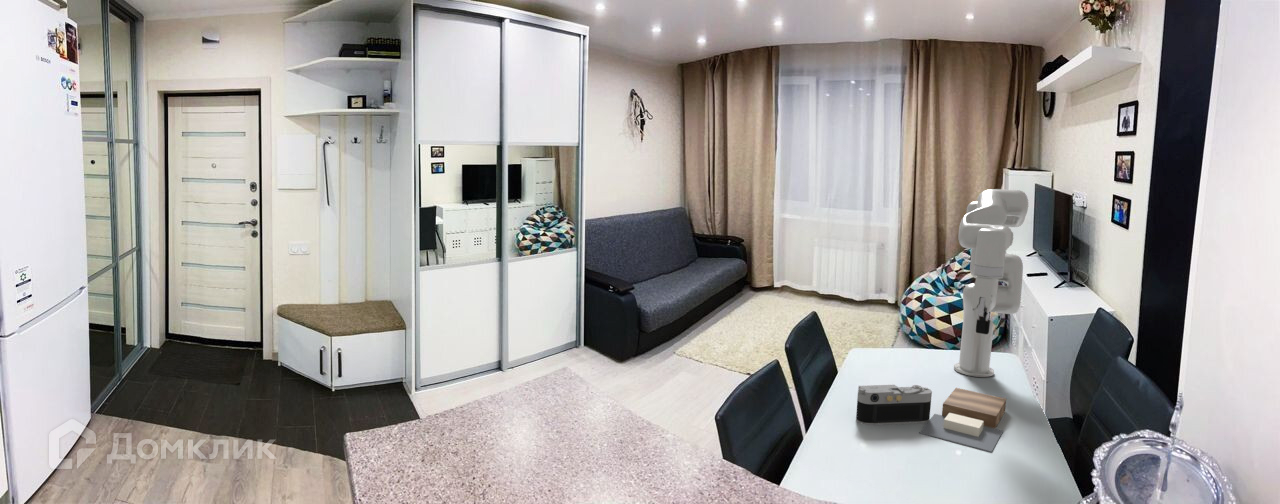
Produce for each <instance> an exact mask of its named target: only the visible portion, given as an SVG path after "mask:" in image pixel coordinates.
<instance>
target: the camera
mask: <svg viewBox="0 0 1280 504" xmlns="http://www.w3.org/2000/svg"><path fill="white" fill-rule="evenodd" d="M932 394H933V391H932V390H931V389H930V388H928V387H923V386H922V385H919V384H912V385H911V386H897V385H896V384H878V385H875V384H874V385H872V384H871V385H858V389H857V399H856V417H855V421H856V423H858V424H861V425H865V426H877V425H878V426H881V425H884V426H885V425H904V424H927V422H928V421H929V420H930V419H931V418H930V415H931V407H932Z"/></svg>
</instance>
